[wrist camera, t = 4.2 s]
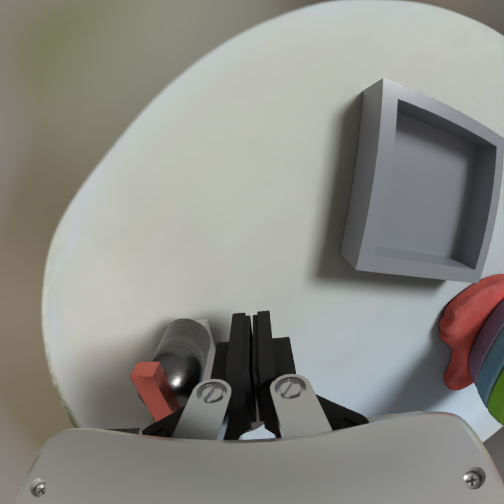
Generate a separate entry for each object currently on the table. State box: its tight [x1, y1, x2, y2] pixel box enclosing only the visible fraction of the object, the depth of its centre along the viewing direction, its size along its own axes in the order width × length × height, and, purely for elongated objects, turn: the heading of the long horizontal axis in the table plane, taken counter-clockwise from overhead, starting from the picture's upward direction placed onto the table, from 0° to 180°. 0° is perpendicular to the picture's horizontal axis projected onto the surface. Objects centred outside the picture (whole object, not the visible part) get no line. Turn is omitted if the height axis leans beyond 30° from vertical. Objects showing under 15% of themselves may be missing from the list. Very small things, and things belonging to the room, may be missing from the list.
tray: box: [340, 78, 504, 283], centre depth 12 cm, size 9×9×3 cm
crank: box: [130, 319, 216, 422], centre depth 12 cm, size 11×4×6 cm, turn 9°
